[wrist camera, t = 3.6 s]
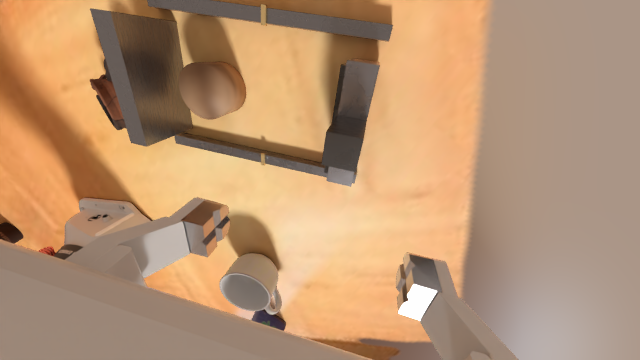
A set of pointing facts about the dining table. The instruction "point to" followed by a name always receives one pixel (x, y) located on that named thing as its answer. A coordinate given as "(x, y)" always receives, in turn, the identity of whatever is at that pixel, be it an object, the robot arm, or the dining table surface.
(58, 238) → the dining table surface
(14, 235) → the coffee mug
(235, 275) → the teacup
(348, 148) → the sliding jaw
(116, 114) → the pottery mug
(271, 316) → the flask
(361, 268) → the dining table surface
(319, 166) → the press frame
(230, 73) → the brown short cylinder
